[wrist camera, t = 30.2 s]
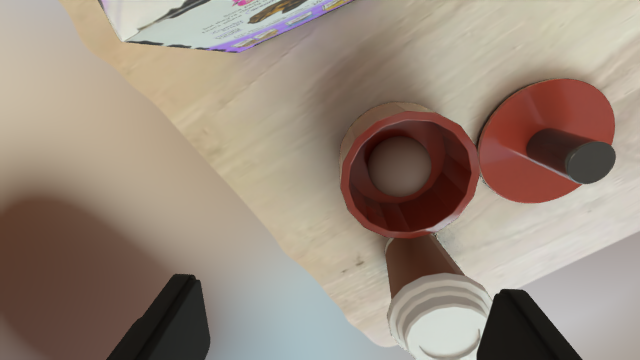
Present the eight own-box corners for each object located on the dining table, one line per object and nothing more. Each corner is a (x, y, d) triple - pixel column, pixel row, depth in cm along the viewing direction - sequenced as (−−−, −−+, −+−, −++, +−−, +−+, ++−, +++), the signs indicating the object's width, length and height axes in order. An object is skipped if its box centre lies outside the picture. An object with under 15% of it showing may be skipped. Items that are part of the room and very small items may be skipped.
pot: (438, 85, 28) (466, 90, 22) (459, 189, 32) (488, 218, 26) (324, 124, 30) (322, 138, 24) (357, 218, 34) (362, 252, 28)
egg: (436, 148, 30) (449, 157, 26) (407, 198, 31) (416, 213, 28) (383, 123, 29) (388, 128, 26) (356, 175, 31) (357, 186, 27)
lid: (604, 58, 27) (685, 56, 21) (605, 179, 31) (674, 208, 25) (464, 104, 29) (501, 114, 22) (483, 212, 33) (518, 246, 27)
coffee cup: (415, 201, 33) (459, 273, 21) (467, 250, 34) (532, 339, 23) (357, 251, 35) (368, 338, 24) (408, 294, 37) (440, 392, 26)
